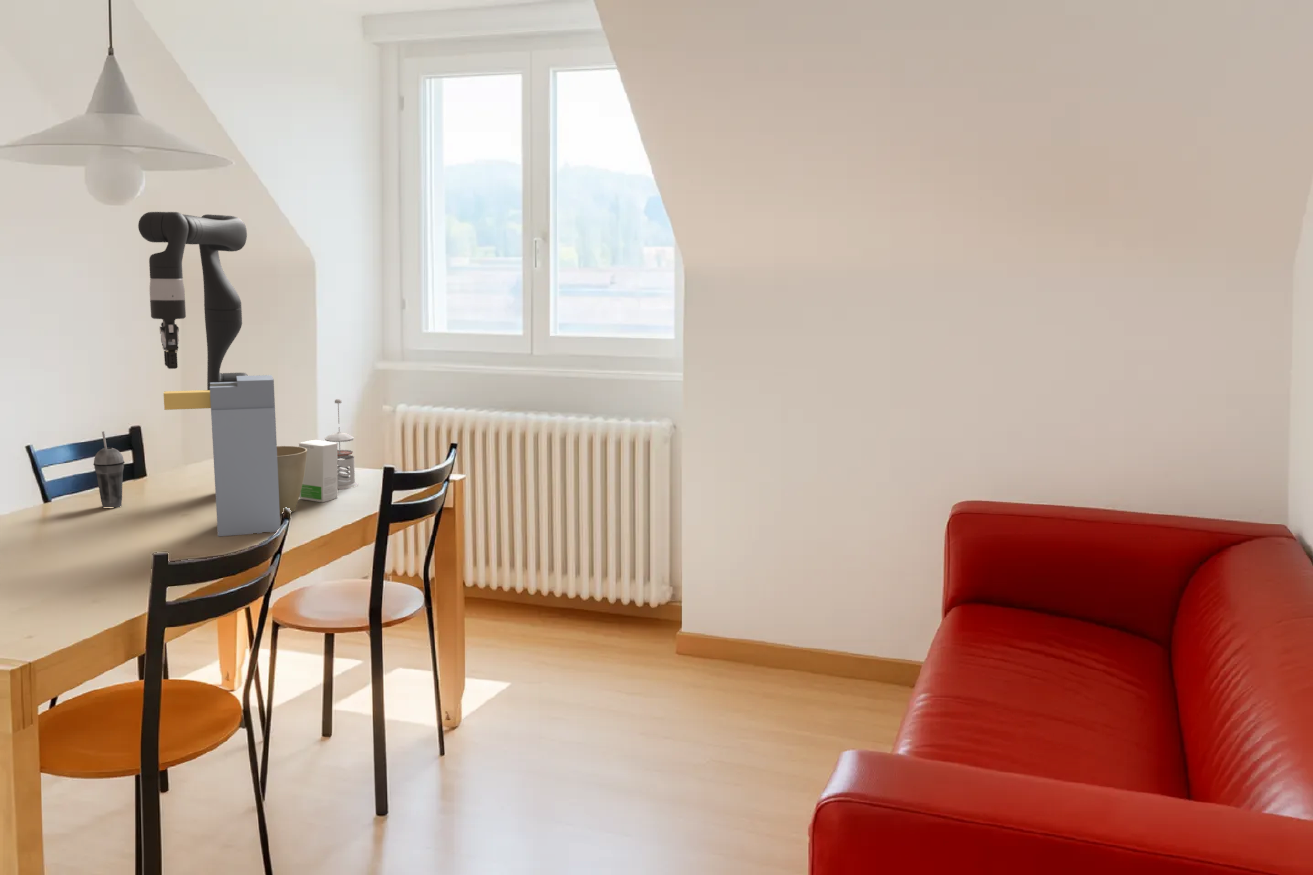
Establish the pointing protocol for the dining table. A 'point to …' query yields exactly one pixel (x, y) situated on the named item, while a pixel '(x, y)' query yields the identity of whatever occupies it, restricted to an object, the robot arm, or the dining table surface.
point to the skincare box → (320, 471)
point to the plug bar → (187, 399)
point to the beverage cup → (109, 475)
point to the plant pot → (290, 475)
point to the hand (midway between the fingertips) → (171, 367)
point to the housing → (245, 455)
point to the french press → (343, 479)
